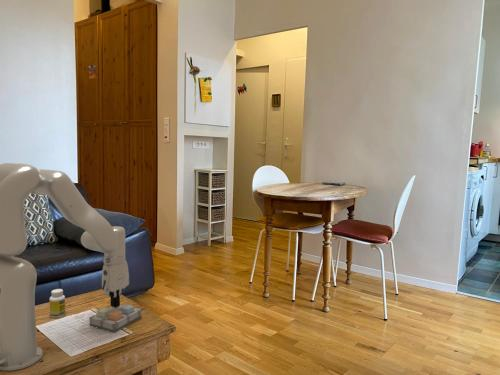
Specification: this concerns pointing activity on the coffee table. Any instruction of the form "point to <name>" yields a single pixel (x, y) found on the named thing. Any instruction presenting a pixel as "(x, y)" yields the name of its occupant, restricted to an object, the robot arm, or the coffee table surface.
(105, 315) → the key sage
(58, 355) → the coffee table surface
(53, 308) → the supplement bottle
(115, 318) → the key terracotta
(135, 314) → the keypad
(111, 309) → the key ivory
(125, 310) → the key slate
